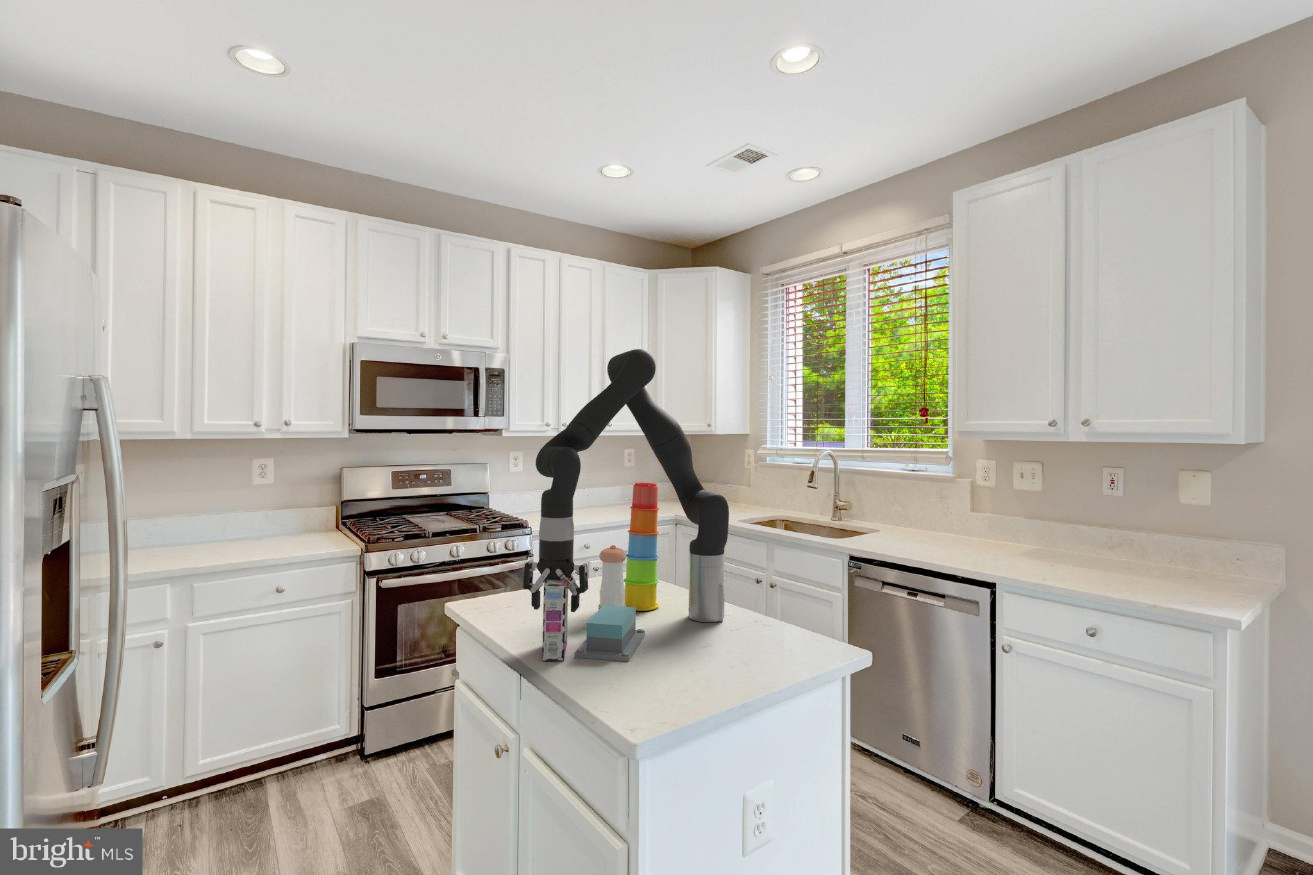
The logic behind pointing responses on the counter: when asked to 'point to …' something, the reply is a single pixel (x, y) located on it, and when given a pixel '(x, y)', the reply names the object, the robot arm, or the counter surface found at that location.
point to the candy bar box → (555, 620)
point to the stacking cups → (642, 549)
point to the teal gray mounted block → (611, 635)
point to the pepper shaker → (612, 577)
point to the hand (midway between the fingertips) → (555, 610)
